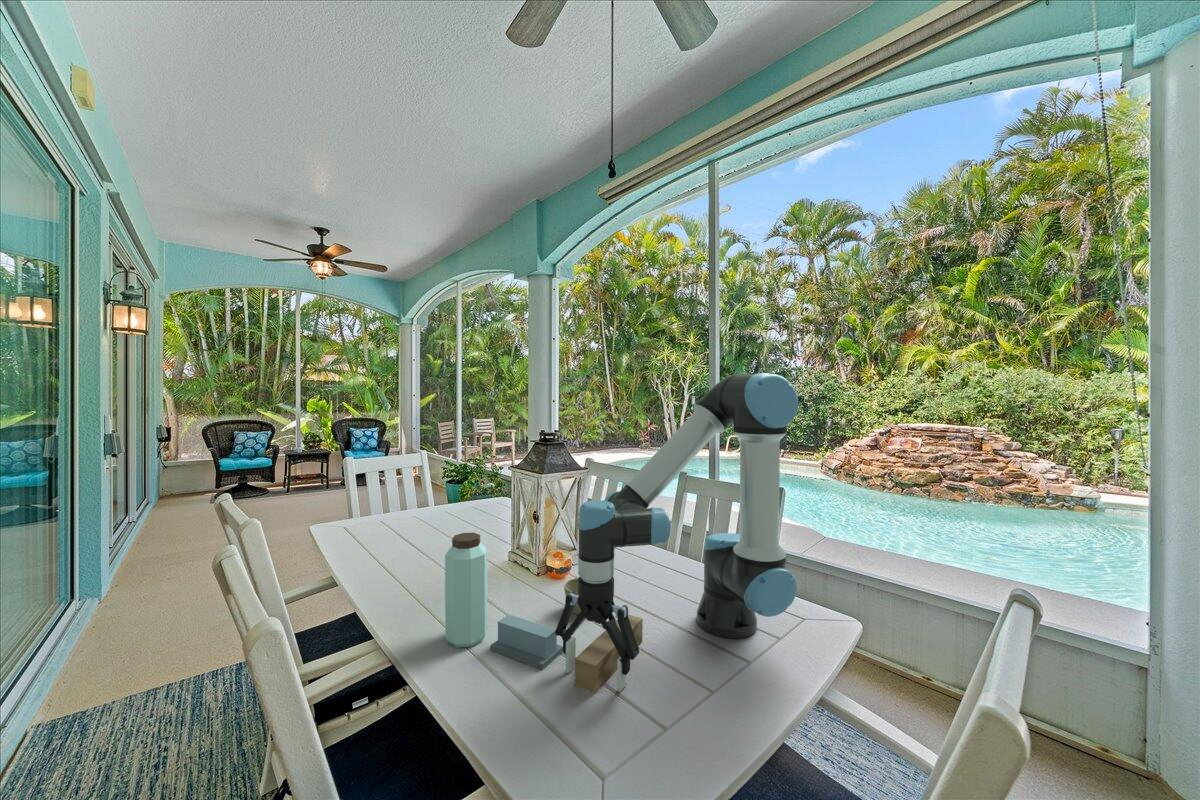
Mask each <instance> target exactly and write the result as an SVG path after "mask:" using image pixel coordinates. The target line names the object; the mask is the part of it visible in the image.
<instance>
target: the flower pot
mask: <svg viewBox="0 0 1200 800" xmlns="http://www.w3.org/2000/svg"><path fill="white" fill-rule="evenodd" d="M578 578H579V577H576V578H572V579H568V580H567V581H566V582H564V584H563V589H564V595H565V597H566V596H567V595H569V594H570V593H571V592H573V591H574V592H575V593H576V595H578V596H579V594H578ZM580 612H581V609H580V607H579V605H578V603H577V604H575V607H574V609H573V612H572V613H573V614H576V615H578V614H579V613H580Z"/></svg>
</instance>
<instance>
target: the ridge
mask: <svg viewBox="0 0 1200 800" xmlns="http://www.w3.org/2000/svg"><path fill="white" fill-rule="evenodd" d="M555 630H556V628H553V627H550V626H546V625H543V624H542V623H541V624H540V623H537V622H534V621H531V620H527V619H525V618H522V617H518V616H515V615H513V614H507V615H506V616H504V617H503V618H502V619H500V620H498V621H497V640H496V641H494V642H493V643H491V644H490V646H489V647H490V648H489V649H490V651H491V652H494V653H497V654H499V655H502V656H504V657H507V658H510V659H513V660H516V661H518V662H521V663H523V664H526V665H528V666H531V667H534V668H537V669H540V670H541V671H544V670H545V668H547V667H548V666H549V665H551V663H552V662H554V660H556V659H557V658H558V657H559V656H560V655H562V654H563V645H559V644H558V643H557V642H558V641H557V639H558V638H557V637H558V636H557V635H556V634H555Z"/></svg>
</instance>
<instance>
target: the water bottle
mask: <svg viewBox="0 0 1200 800" xmlns="http://www.w3.org/2000/svg"><path fill="white" fill-rule="evenodd" d="M451 543H452V545H451V546H450V547H449V548H448V550H447V552H446V553H445V554H444V600H445V601H444V603H445V604H444V606H445V607H444V608H445V609H444V613H445V615H444V618H445V622H444V623H445V624H444V625H445V631H444V632H445V633H444V635H445V639H446V641H447V642H448V643H449V644H451V645H452V646H453V647H455V648H471V647H473V646H476V645H478V644H479V643H481V642H483V640H484V639H485V637H486V633H487V630H488V549H487V547H486V546H485V545H484V544H483V543H482V541H481V534H478V533H476V532H462V533H458V534H456V535H454V536H453V537H452V538H451Z"/></svg>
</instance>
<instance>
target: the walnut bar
mask: <svg viewBox="0 0 1200 800" xmlns="http://www.w3.org/2000/svg"><path fill="white" fill-rule="evenodd" d="M628 618H629V621H630V624H631V627H632V630H633V633H634V636H635V639H636V642H637V645H638V647H639V646H640V645H641V644H642V643H643V625H644V624H643V618H642V617H638V616H635V615H630V614H628ZM616 624H617V626H618V628H619V630H620V627H619V624H618V618H616ZM619 657H620V655H619V653H618V651H617V649H616V648H615V646H614V644H613V642H612V640H611V638H610V636H609V634H608V633H607V631H606V629H604V631H603V632H602V633H601V634H600V635H598V637H596V638H595V640H593V641H592V642H591V643H590V644H589V645H587V646H586V648H584V650H582V651H581V652H580V653H579V654H578V655H577V656H575V667H574V686H576V687H578V688H580V689H583V690H585V691H588V692H590V693H593V694H597V693H598V692H599V691H600V690H601V688H602V687H603V686H604V685H605V684H606V683H607V682H608V681H609V679H610V678H611V677H613V675H614V674H615V673H617V659H618V658H619Z"/></svg>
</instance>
